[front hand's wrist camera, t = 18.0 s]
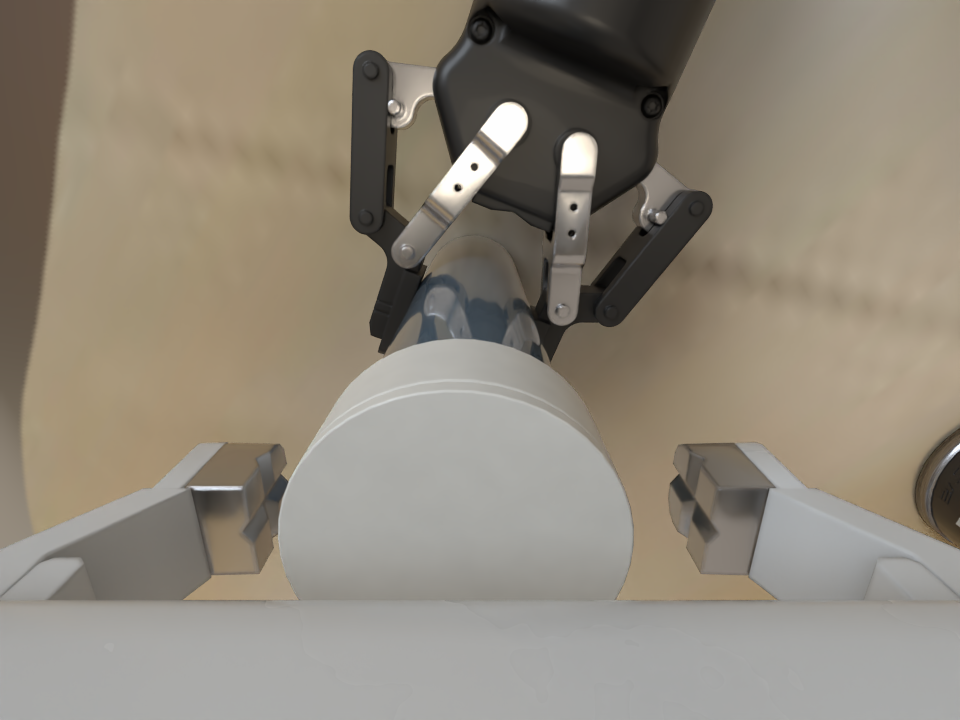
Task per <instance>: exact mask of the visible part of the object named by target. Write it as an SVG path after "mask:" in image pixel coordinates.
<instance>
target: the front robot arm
mask: <svg viewBox="0 0 960 720" xmlns="http://www.w3.org/2000/svg"><path fill="white" fill-rule="evenodd" d="M286 464H287V462H286V457H285V451H284V448H283V447H282V446H281V445H280V444H267V443H227V442H218V443H200V444H198V445H197V446H196V447H195V448H194V449H193V450H192V451H191V452H190V453H189V454H188V455H186V456H185V457H184V458H183V459H182V460H181V461H180V462H179V463H178V464H177V465H176V466H175V467H174V468H173V469H172V470H171V471H170V472H169V473H168V474H167V475H166V476H165V477H164V478H163V479H162V480H161V481H159V482H158V483H157V484H156V485H155V486H154V487H153V488H143V489H141V490H139V491H136V492H134V493H132V494H129V495H127V496H125V497H122V498H120V499H118V500H115V501H113V502H110V503H108V504H106V505H103V506H101V507H99V508H96V509H94V510H92V511H89V512H87V513H84V514H82V515H80V516H77V517H75V518H73V519H70V520H68V521H66V522H63V523H61V524H58V525H56V526H54V527H51V528H49V529H47V530H44V531H42V532H40V533H37V534H35V535H33V536H30V537H28V538H25V539H23V540H21V541H18V542H16V543H14V544H11V545H9V546H7V547H4V548H2V549H0V720H960V549H958V548H955V547H953V546H951V545H948V544H946V543H944V542H941V541H939V540H937V539H934V538H932V537H930V536H927V535H925V534H922V533H920V532H918V531H915V530H913V529H911V528H908V527H906V526H904V525H901V524H899V523H897V522H894V521H892V520H890V519H887V518H885V517H882V516H880V515H878V514H875V513H873V512H871V511H868V510H866V509H864V508H861V507H859V506H857V505H854V504H852V503H849V502H847V501H845V500H842V499H840V498H838V497H835V496H833V495H831V494H828V493H826V492H824V491H821V490H819V489H817V488H807V487H806V486H805V485H804V484H803V483H802V482H801V481H800V480H798V479H797V478H796V477H795V476H794V475H793V474H792V473H791V472H790V471H789V470H788V469H787V468H786V467H785V466H784V465H783V464H782V463H781V462H780V461H779V460H778V459H777V458H776V457H775V456H774V455H773V454H772V453H771V452H770V451H768V450H767V449H766V448H765V447H764V446H763V445H762V444H760V443H756V442H747V443H706V444H681V445H678V447H677V449H676V451H675V455H674V461H673V464H674V466H675V468H676V469H677V471H678V472H679V474H678V476H677V477H676V478H675V479H674V480H673V481H672V482H671V483H670V488H669V497H668V500H669V511H670V515H671V518H672V522H673V524H674V526H675V528H676V530H677V531H678V532H679V533H681V534H682V535H684V536H685V537H687V538H688V541H687V547H686V548H687V550H688V552H689V553H690V555H691V557H692V559H693V561H694V562H695V564H696V566H697V568H698V570H699V571H700V573H701V574H723V575H749V578H750V579H751V580H753V581H754V582H755V583H757V584H758V585H759V586H760V587H762V588H763V589H764V590H766V591H767V592H768V593H769V594H771V595H772V596H773V597H775V598H776V599H777V600H183V599H184V598H186V597H187V596H188V595H189V594H191V593H192V592H193V591H195V590H196V589H197V588H198V587H200V586H201V585H202V584H204V583H205V582H206V581H208V580H209V579H210V578H211V575H236V574H259V573H260V572H261V570H262V568H263V566H264V564H265V563H266V561H267V559H268V557H269V555H270V553H271V552H272V550H273V548H274V547H273V541H272V538H273V537H275V536H276V535H278V521H279V513H280V508H281V503H282V498H283V496H284V493H285V490H286V488H287V485H288V481H287V480H286V479H285V478H284V477H283V476H282V474H281V472H282V471H283V469H284V468H285V466H286Z"/></svg>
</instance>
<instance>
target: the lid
mask: <svg viewBox="0 0 960 720" xmlns="http://www.w3.org/2000/svg"><path fill="white" fill-rule="evenodd" d="M278 541H279V548H280V555H281V560H282V563H283V566H284V570H285V573H286V576H287V578H288V580H289V582H290V584H291V587H292V589H293V591H294V593H295V594H296V596H297V597H298V599H299V600H616V598H617V596H618V594H619V592H620V590H621V588H622V586H623V584H624V582H625V579H626V576H627V573H628V570H629V567H630V564H631V558H632V552H633V546H634V526H633V519H632V513H631V507H630V504H629V501H628V498H627V495H626V492H625V489H624V487H623V484H622V482H621V480H620V478H619V476H618V473H617V471H616V469H615V467H614V464H613V462H612V460H611V458H610V456H609V453H608V451H607V449H606V447H605V444H604V442H603V440H602V438H601V436H600V433H599V431H598V429H597V427H596V424H595V422H594V420H593V418H592V416H591V414H590V412H589V410H588V408H587V406H586V405H585V403H584V402H583V400H582V399H581V398H580V396H579V395H578V393H577V392H576V391H575V389H574V388H573V387H572V386H571V385H570V384H569V383H568V382H567V381H566V380H565V379H564V378H563V377H562V376H561V375H559V374H558V373H557V372H555V371H554V370H553V369H552V368H550V367H549V366H548V365H546V364H545V363H543V362H541V361H539V360H538V359H536V358H534V357H533V356H531V355H529V354H526V353H524V352H522V351H519V350H517V349H514V348H512V347H508V346H505V345H501V344H498V343H494V342H488V341H481V340H475V339H446V340H436V341H430V342H426V343H421V344H417V345H413V346H410V347H407V348H405V349H402V350H399V351H397V352H394V353H392V354H390V355H389V356H387V357H385V358H383V359H381V360H379V361H377V362H376V363H375V364H373V365H372V366H370V367H369V368H368V369H366V370H365V371H363V372H362V373H361V374H360V375H359V376H358V377H357V378H356V379H355V380H354V381H353V382H352V383H351V384H350V385H349V386H348V387H347V388H346V390H345V391H344V392H343V393H342V395H341V396H340V397H339V399H338V400H337V402H336V403H335V405H334V407H333V408H332V410H331V412H330V413H329V415H328V417H327V418H326V420H325V421H324V423H323V425H322V426H321V428H320V430H319V431H318V433H317V434H316V436H315V438H314V439H313V441H312V443H311V444H310V446H309V447H308V449H307V451H306V452H305V454H304V456H303V457H302V459H301V461H300V462H299V464H298V466H297V467H296V469H295V471H294V473H293V474H292V476H291V478H290V480H289V482H288V485H287V488H286V490H285V493H284V496H283V498H282V503H281V508H280V513H279V521H278Z"/></svg>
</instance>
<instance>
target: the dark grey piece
mask: <svg viewBox="0 0 960 720" xmlns="http://www.w3.org/2000/svg"><path fill="white" fill-rule="evenodd" d="M446 339H475V340H481V341H488V342H494V343H498V344H501V345H505V346H508V347H512V348H514V349H517V350H519V351H522V352H524V353H526V354H529V355H531V356H533V357H534V358H536V359H538V360H539V361H541V362H543V363H545V364H546V365H548V366H549V367H550V368H552V366H551V363H550V361H549V358H548V355H547V352H546V350H545V347H544V344H543V341H542V339H541V336H540V333H539V330H538V327H537V325H536V322H535V319H534V316H533V314H532V311H531V308H530V305H529V303H528V300H527V297H526V294H525V291H524V289H523V286H522V283H521V280H520V278H519V275H518V272H517V269H516V267H515V264H514V261H513V259H512V257H511V256H510V254H509V253H508V252H507V250H506V249H505V248H504V247H503V246H501V245H500V244H499V243H497V242H496V241H494V240H492V239H490V238H487V237H484V236H478V235H468V236H462V237H458V238H456V239H454V240H452V241H450V242H448V243H447V244H446V245H444V246H443V247H442V248H441V249H440V250H439V251H438V253H437V254H436V255H435V257H434V259H433V261H432V263H431V265H430V267H429V269H428V271H427V272H426V274H425V276H424V278H423V280H422V282H421V284H420V286H419V288H418V290H417V292H416V294H415V296H414V298H413V300H412V302H411V304H410V306H409V308H408V310H407V312H406V313H405V315H404V317H403V319H402V321H401V323H400V325H399V327H398V329H397V331H396V333H395V335H394V337H393V339H392V341H391V343H390V345H389V347H388V349H387V351H386V353H385V354H384V356H383V358H385V357H387V356H389V355H390V354H392V353H394V352H397V351H399V350H402V349H405V348H407V347H410V346H413V345H417V344H421V343H426V342H430V341H436V340H446ZM383 358H382V359H383Z"/></svg>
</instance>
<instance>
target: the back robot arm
mask: <svg viewBox="0 0 960 720" xmlns="http://www.w3.org/2000/svg"><path fill="white" fill-rule="evenodd" d="M715 1H716V0H474V1H473V4H472V7H471V10H470V14H469V17H468V20H467V23H466V26H465V29H464V31H463V33H462V35H461V37H460V39H459V40H458V42H457V43H456V45H455V46H454V47H453V48H452V50H451V51H450V52H449V53H448V54H446V55H445V56H444V57H443V58H442V60H441V61H440V62H439V64H438V65H437V67H436V68H434V67H426V66H418V65H410V64H403V63H395V62H389V61H387V60H386V59H385V58H384V57H383V56H382V55H381V54H380V53H378V52H376V51H372V50H367V51H364V52H362V53H360V54H359V55H358V56H357V58H356V59H355V61H354V65H353V91H352V137H351V182H350V221H351V224H352V226H353V227H354V229H355V230H356V231H358V232H359V233H361V234H365V235H367V236H368V237H370V238H371V239H372V240H373V241H375V242H376V243H377V244H378V245H379V246H380V247H381V248H382V249H383V250H384V252H385V254H386V256H387V269H386V272H385V275H384V278H383V281H382V285H381V288H380V291H379V294H378V297H377V301H376V303H375V307H374V310H373V313H372V316H371V319H370V322H369V323H370V333H371V335H372V336H374V337H377V338H380V339H382V340H381V343H380V346H379V350H378V352H379V353H382V354H385V353H386V351H387V349H388V347H389V345H390V343H391V341H392V339H393V337H394V335H395V333H396V331H397V329H398V327H399V325H400V323H401V321H402V319H403V317H404V315H405V313H406V312H407V310H408V308H409V306H410V304H411V302H412V300H413V298H414V296H415V294H416V292H417V290H418V288H419V286H420V284H421V282H422V280H423V277H424V274H425V271H426V268H427V266H425V265H423V262H424V259H425V256H426V255H427V253H428V252H429V251H430V250H431V249H432V247H433V246H434V245H435V244H436V242H437V241H438V240H439V239H440V237H441V236H442V235H443V234H444V232H445V231H446V230H447V229H448V227H449V226H450V225H451V224H452V223H453V222H454V220H455V219H456V218H457V217H458V215H459V214H460V213H461V212H462V210H463V209H464V208H465V207H466V205H467V204H468V203H469V202H470V200H471V199H472V202H473V203H476V204H478V205H481V206H483V207H486V208H488V209H491V210H500V211H509V212H514V213H515V214H517V215H518V216H519V217H521V218H522V219H523V220H525V221H526V222H527V223H529V224H530V225H531V226H534V227H536V228H539V229H541V230H543V242H542V253H543V264H542V279H541V294H540V299H539V301H538V303H537V306H536V307H533V306H531V305H530V308H531V311H532V314H533V316H534V319H535V322H536V325H537V327H538V330H539V333H540V336H541V339H542V341H543V344H544V347H545V350H546V352H547V355H548V358H549V361H550V362H551V360H552V357H553V355H554V353H555V351H556V349H557V346H558V344H559V342H560V340H561V338H562V336H563V334H564V332H565V330H566V329H567V328H568V327H570V326H571V325H573V324H575V323H579V322H598V323H600V324H601V325H603V326H606V327H613V326H616V325H618V324H620V323H621V322H622V321H623V320H624V318H625V317H626V316H627V315H628V314H629V312H630V311H631V310H632V309H633V308H634V306H635V305H636V304H637V303H638V302H639V300H640V299H641V298H642V297H643V296H644V294H645V293H646V292H647V291H648V290H649V288H650V287H651V286H652V285H653V284H654V282H655V281H656V280H657V279H658V278H659V276H660V275H661V274H662V273H663V272H664V270H665V269H666V268H667V267H668V266H669V264H670V263H671V262H672V261H673V260H674V258H675V257H676V256H677V255H678V254H679V252H680V251H681V250H682V249H683V248H684V246H685V245H686V244H687V243H688V242H689V240H690V239H691V238H692V237H693V236H694V234H695V233H696V232H697V231H698V230H699V228H700V227H701V226H702V225H703V224H704V222H705V221H706V220H707V219H708V218H709V216H710V214H711V212H712V208H713V203H712V199H711V198H710V196H709V195H708V194H707V193H705V192H702V191H697V190H693V189H688V188H687V187H686V186H684V185H683V184H682V183H681V182H680V181H678V180H677V179H676V178H675V177H674V176H672V175H671V174H670V173H669V172H668V171H666V170H665V169H664V168H663V167H662V166H660V165H659V164H658V163H657V162H656V161H657V157H658V131H659V125H660V121H661V118H662V116H663V113H664V111H665V109H666V107H667V105H668V103H669V101H670V99H671V97H672V94H673V92H674V90H675V88H676V86H677V84H678V81H679V79H680V77H681V75H682V73H683V70H684V68H685V66H686V64H687V62H688V59H689V57H690V55H691V53H692V51H693V49H694V46H695V44H696V42H697V40H698V38H699V35H700V33H701V31H702V29H703V27H704V25H705V22H706V20H707V18H708V16H709V14H710V11H711V9H712V7H713V5H714V3H715ZM429 100H435V103H436V107H437V110H438V114H439V118H440V122H441V125H442V129H443V133H444V136H445V140H446V144H447V147H448V151H449V155H450V159H451V162H452V167H451V168H450V170H449V171H448V172H447V174H446V175H445V176H444V177H443V179H442V180H441V181H440V183H439V184H438V185H437V187H436V188H435V189H434V190H433V192H432V193H431V194H430V196H429V197H428V198H427V200H426V201H425V202H424V204H423V205H422V207H421V208H420V209H419V211H418V212H417V213H416V215H415V216H414V217H413V219H412V220H411V221H410V222H408V221H407V220H406V219H405V218H404V217H403V216H401V215H400V214H399V213H398V212H397V211H396V210H394V209H393V208H394V188H395V169H396V149H397V130H405V129H408V128H410V127H411V126H412V125H413V124H414V122H415V120H416V117H417V112H418V109H419V108H420V106H421V105H422V104H423V103H424V102H426V101H429ZM458 184H459V186H460V188H459V187H458ZM635 186H636V187H637V189H638V192H639V198H638V202H637V204H636V206H635V207H634V210H633V213H632V218H633V221H634V223H635V225H636V226H637V227H636V228H635V229H634V231H633V232H632V233H631V234H630V236H629V237H628V238H627V239H626V241H625V242H624V243H623V245H622V246H621V247H620V248H619V250H618V251H617V252H616V253H615V255H614V256H613V257H612V258H611V260H610V261H609V262H608V264H607V265H606V266H605V267H604V269H603V270H602V271H601V272H600V274H599V275H598V276H597V277H596V279H595V280H594V281H593V282H592V284H591V285H590V286H588V285H581V274H582V268H583V266H584V264H585V260H586V251H587V241H588V231H589V220H590V215H592V214H593V213H595V212H596V211H598V210H599V209H601V208H602V207H604V206H605V205H607V204H609V203H610V202H612V201H613V200H615V199H616V198H618V197H619V196H621V195H622V194H624V193H626V192H627V191H629V190H630V189H632V188H633V187H635ZM916 504H917V508H918V511H919V513H920V515H921V517H922V518H923V520H924V521H925V522H926V523H927V524H928V525H929V526H930V527H931V528H932V529H934V530H935V531H936V532H938V533H939V534H940V535H941V536H943V537H944V538H945V539H947V540H948V541H950V542H952V543H954V544H955V545H957V546H958V547H959V548H960V429H958V430H957V431H956V432H954V433H953V434H952V435H950V436H949V437H948V438H947V439H946V440H944V441H943V442H942V443H941V444H940V445H939V446H938V447H937V448H936V450H935V451H934V452H933V453H932V454H931V456H930V457H929V459H928V460H927V462H926V463H925V465H924V467H923V469H922V471H921V473H920V476H919V478H918V482H917V486H916Z"/></svg>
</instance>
